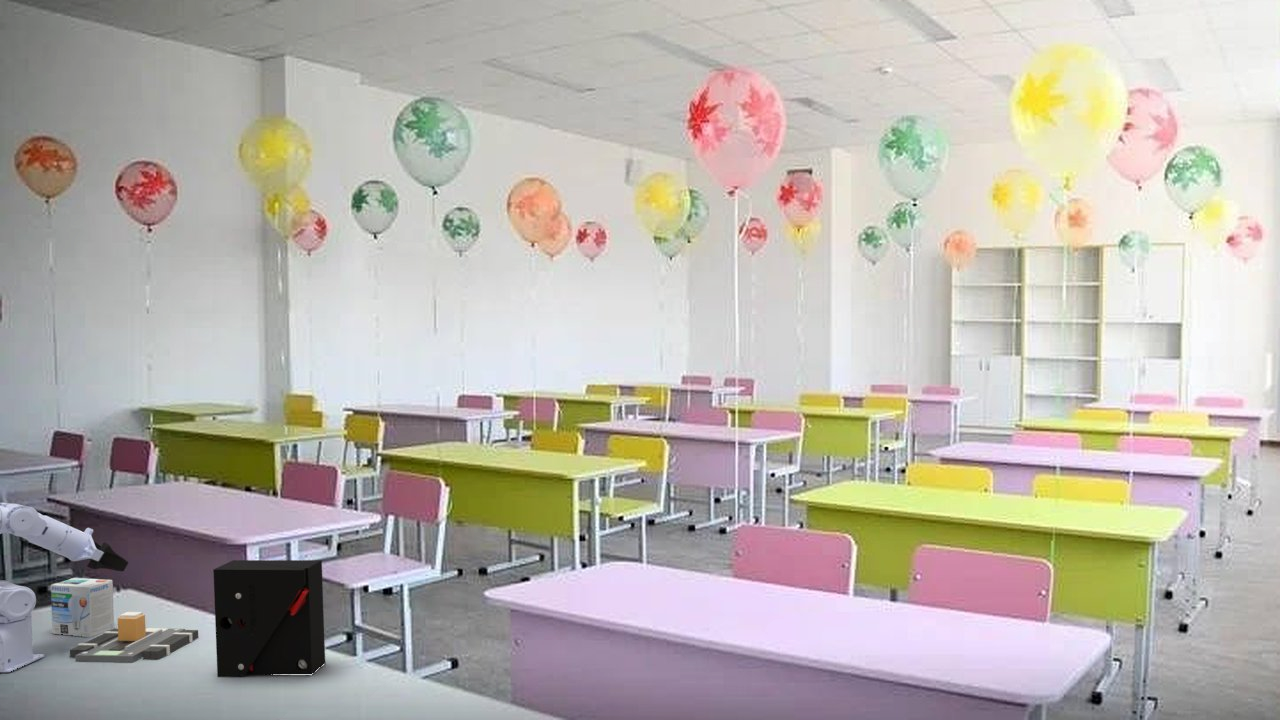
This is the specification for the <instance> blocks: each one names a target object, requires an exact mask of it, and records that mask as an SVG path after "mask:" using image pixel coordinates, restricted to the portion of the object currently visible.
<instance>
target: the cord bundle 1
mask: <svg viewBox="0 0 1280 720" xmlns="http://www.w3.org/2000/svg"><path fill="white" fill-rule="evenodd" d="M117 636H118V628H114V629H112V630H109V631H105V632H103V633H101V634H99V635H97V636H96V637H94V638H92V639H90V640H88V641H86V642H83V643H77V645H76V646H75V647H73V648H70V649H69V658H70V657H72V658H71V659H75V655H77V654H79V653H81V652H86V651H88V650H90V649H93V648H96V647H98V646H99V645H101V644H103V643H105V642H107V641H109V640H111V639H113V638H115V637H117Z"/></svg>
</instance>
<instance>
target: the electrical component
mask: <svg viewBox="0 0 1280 720" xmlns="http://www.w3.org/2000/svg"><path fill="white" fill-rule="evenodd" d="M212 572H213V589H214V590H213V591H214V592H213V594H214V595H213V596H214V616H215V618H214V619H215V624H214V625H215V645H216V646H215V649H216V672H217V674H216V675H217V678H235V677H236V678H238V677H240V678H241V677H245V676H274V675H273V674H312V673H314V672H315V671H316V670H317V669H318V668H319V667H321V666H322V665H323V664H324V663H325V664H326V649H325V647H326V646H325V645H326V644H325V621H324V617H325V616H324V597H323V596H324V593H323V589H324V587H323V560H321V559H320V560H319V559H317V560H316V559H315V560H314V559H312V560H310V559H308V560H307V559H305V560H303V559H302V560H300V559H299V560H298V559H296V560H295V559H294V560H292V559H290V560H289V559H287V560H285V559H284V560H283V559H279V560H277V559H273V560H272V559H271V560H270V559H267V560H266V559H262V560H261V559H259V560H258V559H256V560H254V559H253V560H252V559H246V560H243V559H241V560H239V559H236V560H235V559H234V560H230V561H229V562H227V563H225V564H222V565H220V566H218V567H216V568H213V571H212ZM271 674H272V675H271Z"/></svg>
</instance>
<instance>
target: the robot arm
mask: <svg viewBox="0 0 1280 720" xmlns="http://www.w3.org/2000/svg"><path fill="white" fill-rule="evenodd" d="M93 533H94V529H93V528H90V527H87V528H85V530H84V531H81V530H80V529H78V528H75V527H73V526H71V525H69V524H66V523H64V522H62V521H60V520H57V519H55V518H53V517H50V516H48V515H43V514H41V513H40V512H38V511H37V509H35V508H34V507H33V506H28V505H27V506H26V505H24V504H23V505H22V504H19V503H10V502H0V535H1V534H10V535H13V536H15V537H21V538H22V539H25V540H27V541H28V542H29V543H31V544H34V545H36V546H39V547H41V548H43V549H46V550H48V551H51V552H53V553H55V554H57V555H60V556H62V557H65V558H67V559H68V560H70V561H71V562H78V561H83V560H84V561H85V560H87V561H88V560H90V561H89V562H88V564H87V565H86V567H87V568H89V569H91V570H99V569H104V570H111V571H116V572H124V571H125V570H126V568H127V566H128V564H129V561H127V560H126V559H125V558H123V557H122V556H120V555H119V554H118V553H116V552H115V551H114V550H113V548H112V547H111V546H110V544H109V543H108V542H106V541H103V543H102V544H101V545H100V544H98V542H96V541H95V540H94V538H93V536H92V535H93ZM36 597H37V596H36V593H35V592H34V591H33V590H32V589H31V588H29V587H27V586H25V585H24V586H23V585H19V584H14V583H12V582H11V581H9V580H0V673H12V672H14V671H17V670H18V669H20V668H22V666H23V667H25V666H27V665H29V664H31V663H33V662H36V661H38V660H40V659H43V658H44V657H45V654H43V653H34V646H33V626H32V625H33V622H32V621H33V619H32V612H33V611H34V609H35V606H36V604H37V598H36ZM24 665H25V666H24ZM17 668H18V669H17ZM13 670H14V671H13ZM11 671H12V672H11Z"/></svg>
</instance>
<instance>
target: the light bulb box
mask: <svg viewBox="0 0 1280 720" xmlns="http://www.w3.org/2000/svg"><path fill="white" fill-rule="evenodd" d="M113 585H114V583H113V579H102V578H101V579H100V578H85V577H72V578H70V579H67V580H63V581H60V582H59V581H58V582H55V583H52V584H50V603H51V633H53V635H61V634H63V635H65V636H71V635H73V637H81V636H82V637H83V638H92V636H93V637H95V636H98V635H101V634H103V632H105V631H108V630H109V631H111V629H112V630H113V629H115V618H114V617H115V613H114V612H115V611H114V588H113V587H114V586H113ZM100 633H101V634H100ZM97 634H98V635H97ZM82 637H81V638H82Z"/></svg>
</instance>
